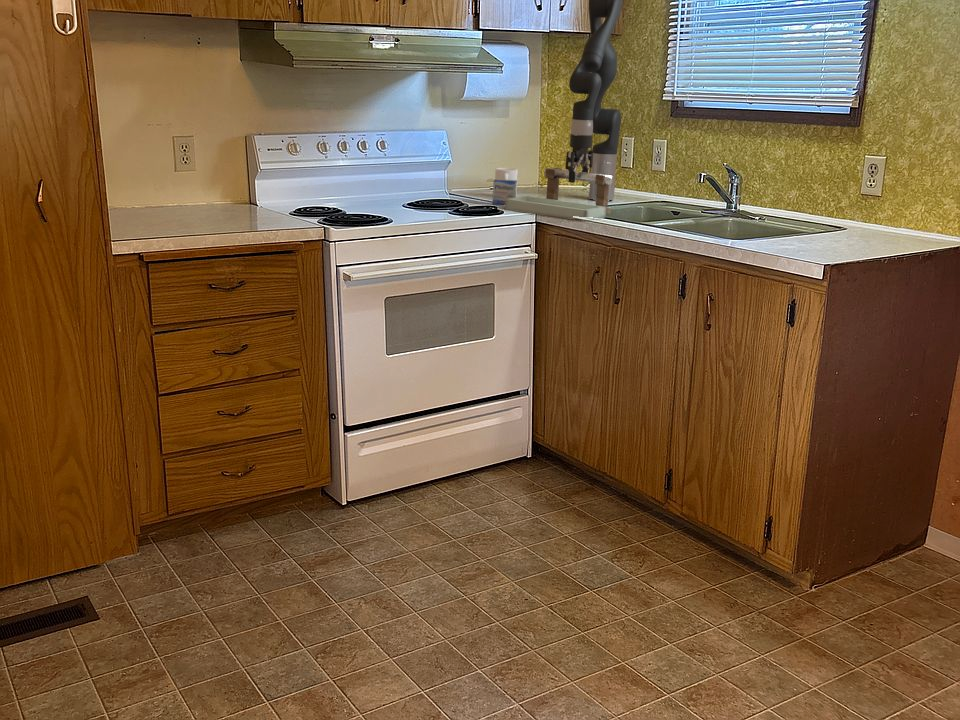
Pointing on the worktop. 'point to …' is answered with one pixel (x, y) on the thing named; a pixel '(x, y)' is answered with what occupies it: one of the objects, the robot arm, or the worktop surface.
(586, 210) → the tray
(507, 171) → the mug
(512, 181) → the medicine box
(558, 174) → the rail
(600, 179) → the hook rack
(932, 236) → the worktop surface
